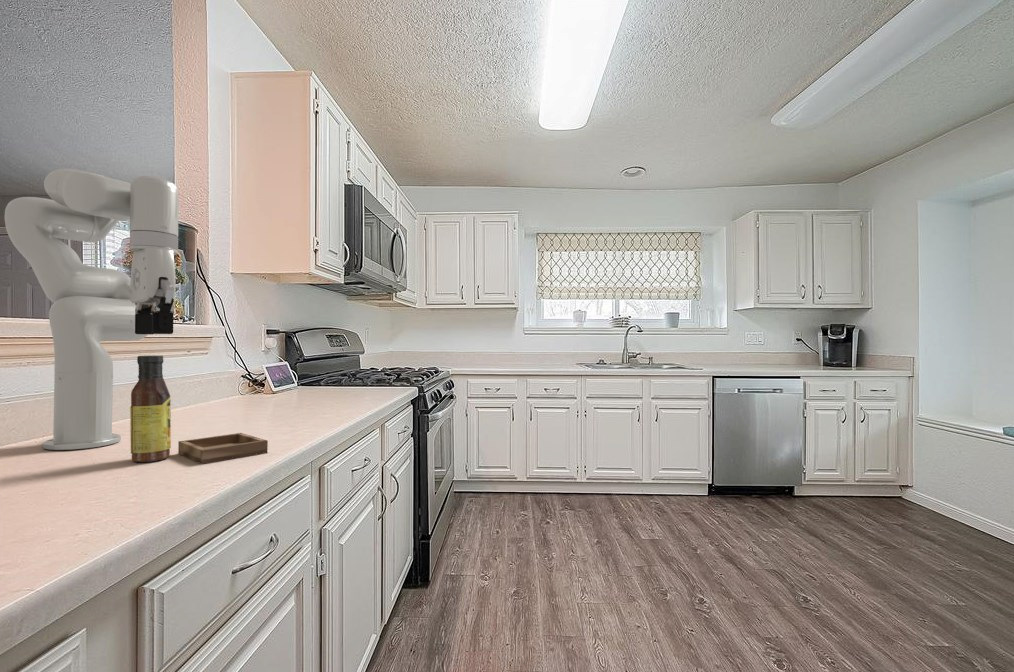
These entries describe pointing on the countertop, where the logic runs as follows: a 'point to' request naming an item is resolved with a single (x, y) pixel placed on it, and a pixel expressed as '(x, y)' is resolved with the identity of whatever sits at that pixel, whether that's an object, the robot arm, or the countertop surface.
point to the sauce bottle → (150, 412)
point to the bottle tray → (222, 447)
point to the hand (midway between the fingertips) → (153, 334)
